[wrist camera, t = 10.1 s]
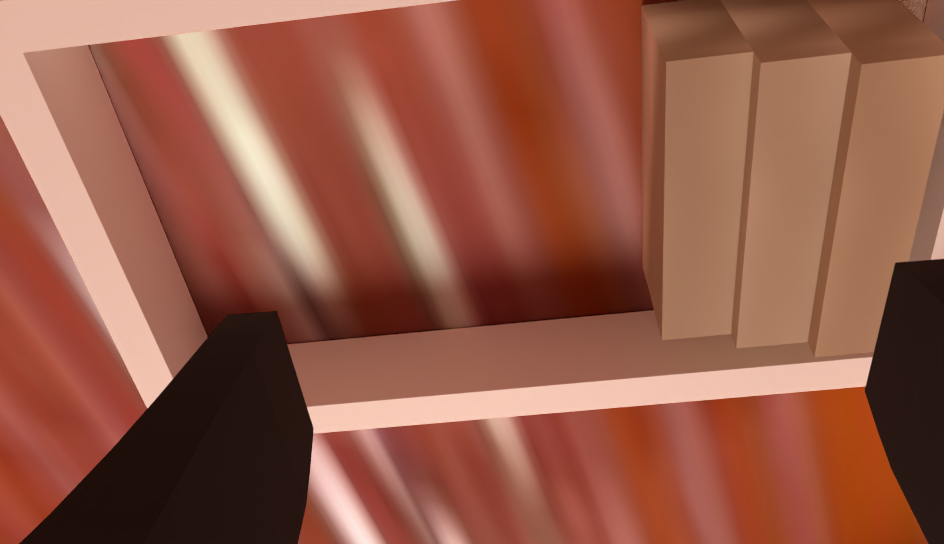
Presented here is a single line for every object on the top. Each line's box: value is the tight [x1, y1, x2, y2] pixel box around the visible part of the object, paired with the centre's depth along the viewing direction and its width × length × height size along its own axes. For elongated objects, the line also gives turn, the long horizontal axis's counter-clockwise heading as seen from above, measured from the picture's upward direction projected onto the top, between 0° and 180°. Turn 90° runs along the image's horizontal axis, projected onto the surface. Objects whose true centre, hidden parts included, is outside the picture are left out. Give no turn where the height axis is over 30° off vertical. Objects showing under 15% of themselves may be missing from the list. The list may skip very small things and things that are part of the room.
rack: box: [0, 0, 944, 434], centre depth 18 cm, size 20×13×6 cm, turn 97°
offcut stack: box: [642, 0, 944, 357], centre depth 19 cm, size 5×7×4 cm
